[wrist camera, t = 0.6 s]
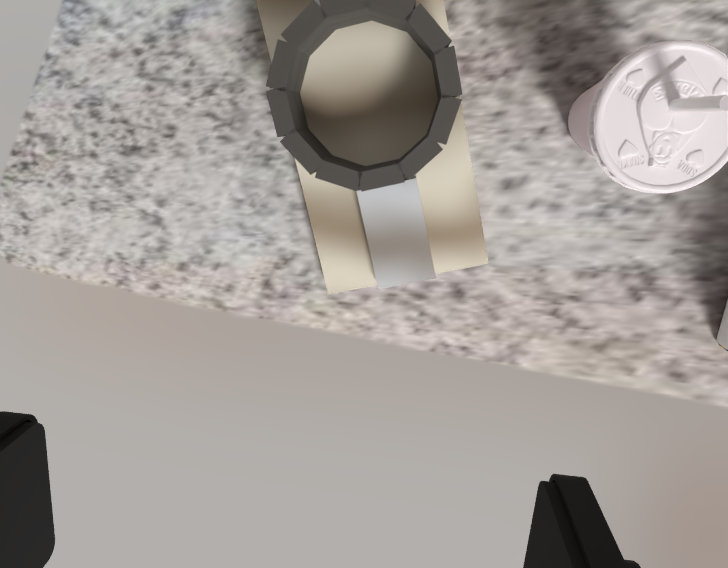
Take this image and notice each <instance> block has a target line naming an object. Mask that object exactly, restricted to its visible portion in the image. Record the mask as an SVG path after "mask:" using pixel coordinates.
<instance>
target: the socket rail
mask: <svg viewBox="0 0 728 568" xmlns="http://www.w3.org/2000/svg"><path fill="white" fill-rule="evenodd" d="M256 3H257V7H258V11H259V15H260V19H261V23H262V27H263V31H264V35H265V39H266V43H267V47H268V51H269V55H270V60H271V68H270V72H269V76H268V80H267V84H266V86H268V87H271V88H274V90H270V91H266V93H267V97H268V101H269V105H270V109H271V113H272V117H273V121H274V125H275V129H276V133H277V137H281V136H285V137H284V138H283V139H282V140H281V141H280V142H281V143H282V144H283V145H284V147H285V148H286V149H287V150H288V151H289V152H290V153H291V154H292V155H293V156H294V157H295V161H296V165H297V169H298V173H299V177H300V181H301V185H302V189H303V194H304V198H305V202H306V206H307V210H308V214H309V218H310V222H311V226H312V230H313V234H314V238H315V242H316V246H317V250H318V254H319V259H320V263H321V267H322V271H323V275H324V279H325V283H326V287H327V291H328V294H333V293H339V292H344V291H349V290H354V289H359V288H364V287H370V286H375V285H377V286H378V289H382V288H387V287H392V286H397V285H403V284H408V283H413V282H418V281H424V280H429V279H434V278H436V276H435V274H437V273H442V272H447V271H453V270H458V269H463V268H468V267H473V266H479V265H484V264H489V263H488V257H487V251H486V246H485V240H484V234H483V228H482V222H481V216H480V211H479V205H478V199H477V193H476V187H475V182H474V176H473V170H472V164H471V158H470V152H469V147H468V141H467V135H466V129H465V123H464V117H463V112H462V106H461V101H462V100H461V99H460V95H462V90H461V84H460V78H459V72H458V66H457V60H456V54H455V49H454V46H451V41H452V40H451V39H450V36H449V30H448V24H447V18H446V13H445V7H444V1H443V0H256Z"/></svg>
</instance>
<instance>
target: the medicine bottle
mask: <svg viewBox="0 0 728 568" xmlns="http://www.w3.org/2000/svg"><path fill="white" fill-rule="evenodd" d="M717 343H718V344H719V345H720V346H721V347H723V348H724V349H725V350H727V351H728V300H727V303H726V307H725V310H724V314H723V318H722V321H721V325H720V328H719V332H718V335H717Z"/></svg>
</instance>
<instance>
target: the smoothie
mask: <svg viewBox="0 0 728 568" xmlns="http://www.w3.org/2000/svg"><path fill="white" fill-rule="evenodd" d="M568 129H569V132H570V135H571V137H572V138H573V140H574V141H575V142H576V143H577V144H578V145H579V146H580V147H582V148H583V149H584V150H586V151H587V152H588V153H590V154H591V155H592V156H594V157H595V159H596V161H597V163H598V165H599V167H600V168H601V169H602V170H603V171H604V172H605V173H606V174H607V175H608V176H609V177H610V178H611V179H612V180H614V181H616V182H617V183H619V184H621V185H622V186H624V187H626V188H629V189H633V190H637V191H641V192H644V193H646V192H650V193H672V192H678V191H682V190H685V189H688V188H691V187H693V186H696V185H698V184H700V183H702V182H703V181H705V180H706V179H708V178H710V177H711V176H712V175H714V174H715V173H716V172H717V171H718V170H719V169H721V168H722V167H723V166H724V164H725V163H726V162H727V161H728V57H727V56H726V55H725V54H723V53H722V52H720V51H719V50H718V49H716V48H714V47H712V46H710V45H707V44H705V43H701V42H697V41H691V40H672V41H666V42H658V43H655V44H652V45H648V46H645V47H642V48H639V49H638V50H636V51H634V52H633V53H631V54H629V55H628V56H626V57H624V58H622V59H621V60H620V61H619V62H618V63H617V64H616V65H615V66H614V67H613V68H612V69H611V70H610V71H609V72H608V73H607V74H606V75H605V77H604V78H603V80H602V81H600V82H599V83H597V84H596V85H594V86H593V87H591V88H589V89H588V90H586V91H585V92H584V93H582V94H581V95H580V96H579V97H578V98H577V99H576V100H575V102H574V103H573V105H572V107H571V109H570V112H569V115H568Z"/></svg>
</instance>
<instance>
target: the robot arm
mask: <svg viewBox="0 0 728 568" xmlns="http://www.w3.org/2000/svg"><path fill="white" fill-rule="evenodd" d="M54 545H55V535H54V524H53V514H52V503H51V493H50V481H49V471H48V461H47V450H46V439H45V430H44V427H43V425H42V424H40V423H38V422H37V419H36V418H35V416H33V415H31V414H22V413H13V412H0V568H43V567H44V565H45V564H46V563H47V562H48V560H49V559H50V557H51V555H52V552H53V549H54ZM523 568H641V567H640V566H639V564H637V563H636V562H635V561H631V560H624V559H623V557H622V555H621V552H620V550H619V548H618V546H617V544H616V541H615V539H614V537H613V535H612V533H611V531H610V528H609V526H608V524H607V522H606V520H605V518H604V516H603V513H602V511H601V509H600V507H599V504H598V502H597V500H596V498H595V496H594V494H593V491H592V489H591V487H590V485H589V483H588V481H587V479H586V478H584V477H577V476H567V475H559V474H553V475H552V476H551V478H550V480H549V482H548V481H541V482H540V484H539V486H538V491H537V497H536V502H535V508H534V513H533V518H532V524H531V529H530V535H529V540H528V545H527V551H526V556H525V562H524V567H523Z"/></svg>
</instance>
